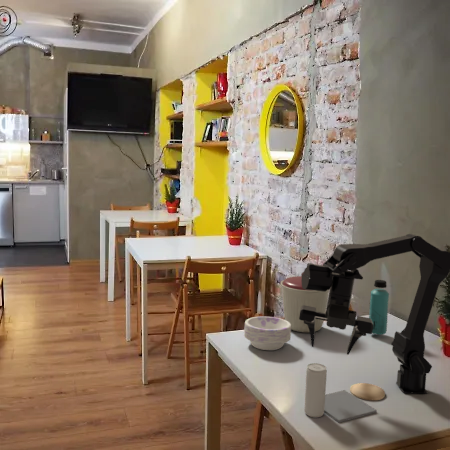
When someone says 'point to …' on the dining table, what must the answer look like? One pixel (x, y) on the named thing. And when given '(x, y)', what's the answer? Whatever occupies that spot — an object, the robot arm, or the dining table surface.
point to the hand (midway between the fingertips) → (330, 350)
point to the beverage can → (315, 390)
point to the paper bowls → (267, 332)
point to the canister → (301, 303)
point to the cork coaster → (367, 391)
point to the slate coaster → (345, 406)
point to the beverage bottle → (379, 307)
